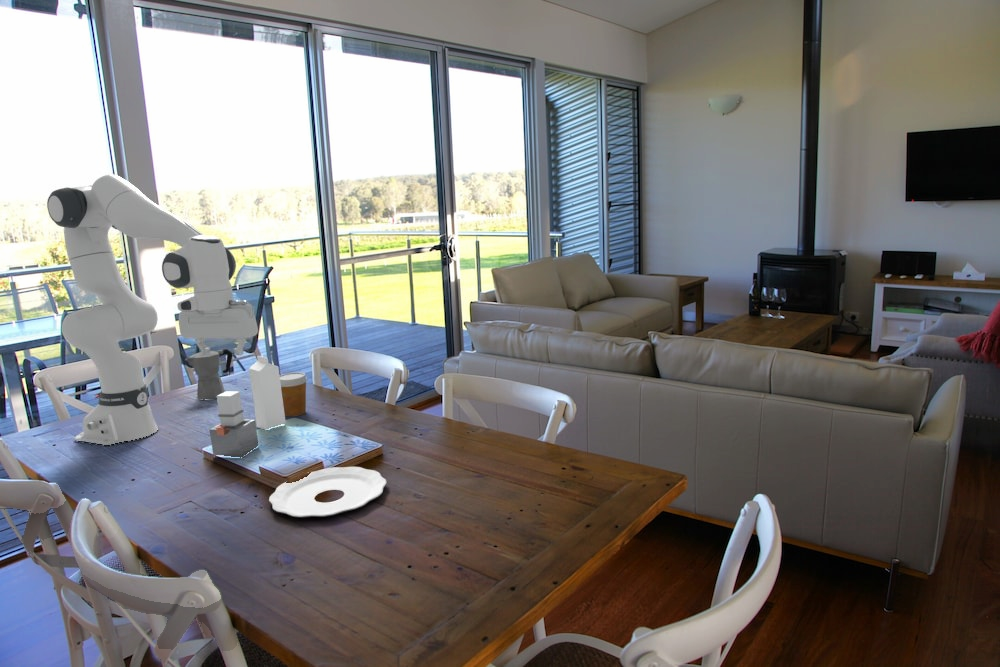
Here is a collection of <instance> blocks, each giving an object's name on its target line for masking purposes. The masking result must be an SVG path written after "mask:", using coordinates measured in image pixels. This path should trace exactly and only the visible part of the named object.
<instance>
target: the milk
mask: <svg viewBox="0 0 1000 667" xmlns="http://www.w3.org/2000/svg"><path fill="white" fill-rule="evenodd" d="M256 359H257V361H255V363H253V364H252V365H250V367H249V368H248V371H249V372H248V373H249V378H250V386H251V393H252V400H253V408H254V414H255V422H256V428H258V429H261V430H263V429H269V428H271V427H275V426H278V425H281V424H285V423H287V422H286V415H285V413H284V406H283V398H282V390H281V383H280V375H281V374H280V368H279V366H278V365H275V364H273V363H270V362H269V359H268V357H267V356H266V357H265V356H261V355H257V356H256Z"/></svg>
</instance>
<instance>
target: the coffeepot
mask: <svg viewBox="0 0 1000 667" xmlns="http://www.w3.org/2000/svg"><path fill="white" fill-rule="evenodd" d="M210 351H211V354H210V355H205V356H203V355H202V353H201V351H200V352H197V353H193V354H192V355H190V356H187V357H185V358H184V361H185V362H187V363H189V365H190V366H192V368H193V370H194V372H195V375H196V376H197V378H198V380H197V394H196V395H197V396H196V398H198V399H197V400H199V399H203V400H202V401H206V400H205V399H213V400H216V399H215V398H217V395H219V394H222V393H224V392H226V390H225V388H224V385H223V382H222V379H221V376H220V373H219V372H220V357H222V356H225V355H226V356H227V357H226V363H225V369H224V370H222V373H223V374H225V373H229V372H230V371H231V370H230V369H231V366H232V360H233V355H234V354H233V353H232V351H230V350H229V349H228V348H224V349H220V350H215V351H214V350H210Z"/></svg>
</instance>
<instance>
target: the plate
mask: <svg viewBox="0 0 1000 667" xmlns="http://www.w3.org/2000/svg"><path fill="white" fill-rule="evenodd" d="M310 472H311V473H310V474H309V475H308V476H307V477H304V478H303V479H300V480H299V481H296V482H292V483H286V482H287V481H285V482H283V483H281V484H280V485H278V486H277V487H276V489H275V491H274V492H273V493H271V495H270V496H269V499H268V502H269V503H270V504H271V505H272V510H273V511H275V513H278V514H279V513H280V514H284V515H288V516H290V517H291V518H300V519H302V518H311V517H312V518H314V517H315V518H325V517H331V516H332V517H333V516H337V515H338V514H339V515H340V514H342V513H345V512H349V511H350V512H351V511H354V510H358V509H360V508H362V507H364V506H365V505H367V504H368V503H369V502H371V501H373V500H375V499H377V498H379V497H380V496H381V495H382V494H383V491H384V488H385V487H386V485H387V479H386V478H384V477H383V476H382V475H381V472H378V471H377V470H375V469H367V468H363V467H361V466H345V467H342V466H341V467H338V466H336V467H332V466H331V467H326V468H323V469H322V468H321V469H318V470H315V471H310ZM333 490H334V491H335V490H336V491H342V492H343V496H342V497H340V498H339V499H337V500H334V501H329V502H320V501H318V500H317V501H316V499H315V498H316V496H318V494H321V493H324V492H326V491H333Z"/></svg>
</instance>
